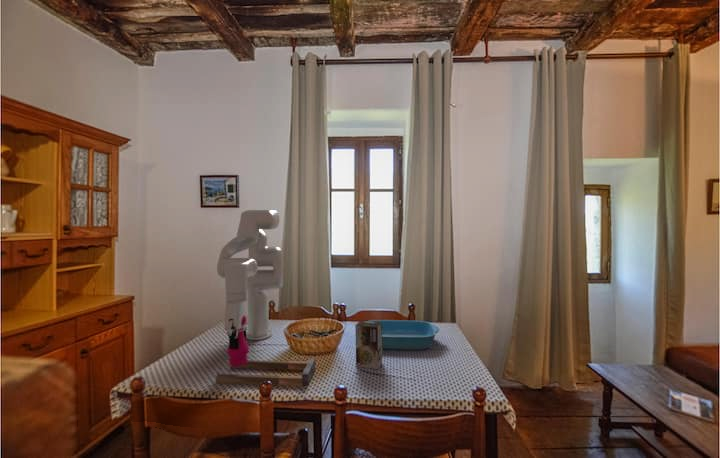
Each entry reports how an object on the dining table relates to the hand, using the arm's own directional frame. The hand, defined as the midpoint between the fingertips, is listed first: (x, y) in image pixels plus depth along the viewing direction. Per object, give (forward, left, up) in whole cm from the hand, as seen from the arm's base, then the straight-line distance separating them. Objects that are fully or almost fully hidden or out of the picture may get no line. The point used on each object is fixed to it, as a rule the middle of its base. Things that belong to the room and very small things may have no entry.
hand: (238, 344), depth 122 cm
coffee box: (-10, +47, -11) cm, 50 cm away
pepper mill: (0, 0, -7) cm, 7 cm away
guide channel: (+1, +11, -11) cm, 16 cm away
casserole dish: (-34, +59, -11) cm, 69 cm away
